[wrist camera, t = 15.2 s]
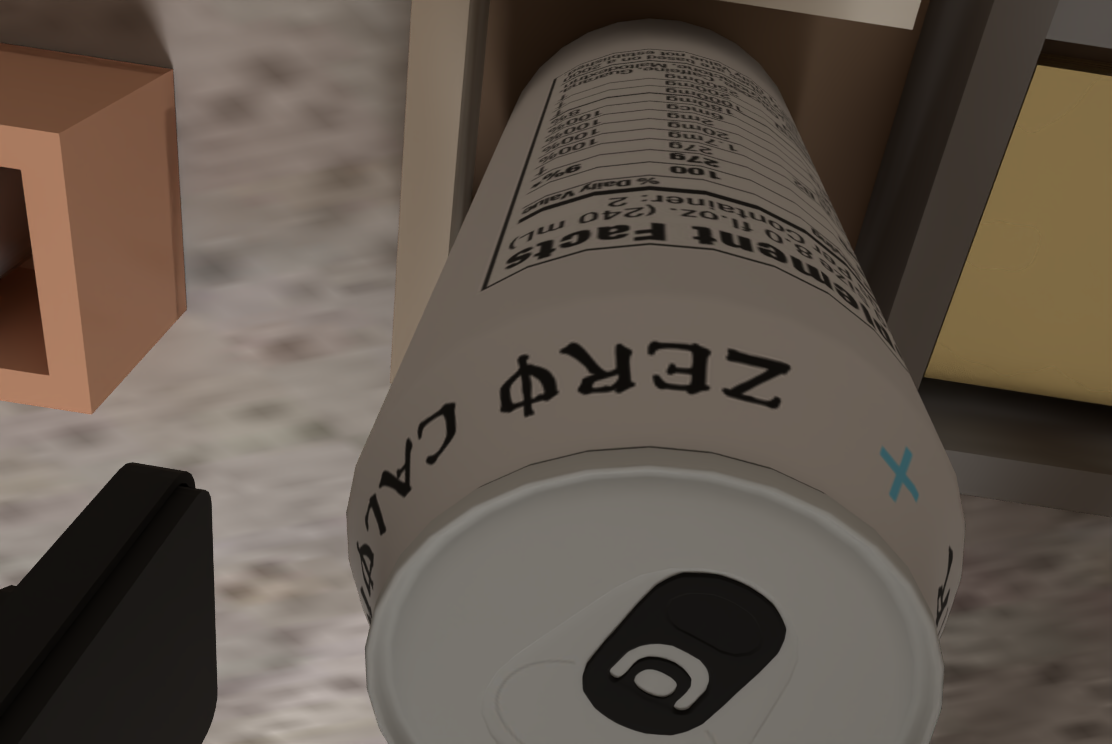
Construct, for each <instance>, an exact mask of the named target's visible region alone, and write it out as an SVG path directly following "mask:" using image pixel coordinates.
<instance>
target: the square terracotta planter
mask: <svg viewBox="0 0 1112 744" xmlns="http://www.w3.org/2000/svg"><path fill="white" fill-rule="evenodd" d="M186 310H187V306H186V289H185V272H184V254H183V237H182V220H181V202H180V185H179V167H178V150H177V133H176V115H175V98H174V81H173V69H168V68H162V67H155V66H149V65H142V64H136V63H129V62H122V61H116V60H109V59H103V58H96V57H90V56H83V55H77V54H70V53H64V52H57V51H51V50H44V49H38V48H31V47H24V46H18V45H11V44H5V43H0V400H1V401H8V402H14V403H21V404H27V405H34V406H40V407H47V408H53V409H60V410H66V411H73V412H79V413H86V414H93V413H94V412H95V410H96V409H97V408H98V407H99V406H100V405H101V404H102V403H103V402H104V400H105V399H106V398H107V397H108V396H109V395H110V394H111V393H112V392H113V391H114V389H115V388H116V387H117V386H118V385H119V384H120V383H121V382H122V381H123V379H124V378H125V377H126V376H127V375H128V374H129V373H130V372H131V371H132V370H133V368H134V367H135V366H136V365H137V364H138V363H139V362H140V361H141V360H142V358H143V357H144V356H145V355H146V354H147V353H148V352H149V351H150V350H151V348H152V347H153V346H154V345H155V344H156V343H157V342H158V341H159V340H160V339H161V337H162V336H163V335H164V334H165V333H166V332H167V331H168V330H169V329H170V327H171V326H172V325H173V324H174V323H175V322H176V321H177V320H178V319H179V318H180V316H181V315H182V314H183V313H184V312H185V311H186Z"/></svg>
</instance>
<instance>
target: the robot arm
mask: <svg viewBox="0 0 1112 744" xmlns="http://www.w3.org/2000/svg"><path fill="white" fill-rule="evenodd" d="M216 702H217V661H216V629H215V597H214V565H213V533H212V503H211V496H210V494H209V492H208V491H206V490H202V489H196V488H195V482H194V479H193V477H192V474H190V473H189V472H187V471H181V470H175V469H169V468H163V467H157V466H151V465H145V464H139V463H133V462H132V463H127V464H125V465H124V466H123V467H122V468H121V469H119V470H118V472H117V473H116V474H115V475H114V476H113V477H112V478H111V480H110V481H109V482H108V483H107V484H106V485H105V486H104V488H103V489H102V490H101V491H100V492H99V493H98V494H97V495H96V497H95V498H94V499H93V500H92V501H91V502H90V503H89V505H88V506H87V507H86V508H85V509H84V510H83V511H82V512H81V514H80V515H79V516H78V517H77V518H76V519H75V520H74V522H73V523H72V524H71V525H70V526H69V527H68V528H67V530H66V531H65V532H64V533H63V534H62V535H61V536H60V537H59V539H58V540H57V541H56V542H55V543H54V544H53V545H52V547H51V548H50V549H49V550H48V551H47V552H46V553H45V554H44V556H43V557H42V558H41V559H40V560H39V561H38V562H37V564H36V565H35V566H34V567H33V568H32V569H31V570H30V572H29V573H28V574H27V575H26V576H25V577H24V578H23V579H22V581H21V582H20V583H19V584H18V585H17V586H13V585H10V586H8V587H5V588H3V589H0V744H202V742H203V740H204V738H205V736H206V735H207V732H208V730H209V728H210V725H211V722H212V719H213V716H214V712H215V708H216Z"/></svg>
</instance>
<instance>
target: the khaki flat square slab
mask: <svg viewBox="0 0 1112 744" xmlns="http://www.w3.org/2000/svg"><path fill="white" fill-rule="evenodd" d="M923 376H924V377H927V378H933V379H940V380H946V381H953V382H959V383H966V384H972V385H979V386H985V387H992V388H999V389H1005V390H1012V391H1018V392H1025V393H1031V394H1038V395H1044V396H1051V397H1057V398H1064V399H1070V400H1077V401H1083V402H1090V403H1096V404H1103V405H1109V406H1112V64H1111V63H1105V62H1098V61H1091V60H1085V59H1078V58H1072V57H1065V56H1059V55H1052V54H1046V53H1040V55H1039V58H1038V61H1037V63H1036V66H1035V69H1034V72H1033V74H1032V77H1031V80H1030V83H1029V85H1028V88H1027V91H1026V94H1025V96H1024V99H1023V102H1022V105H1021V107H1020V110H1019V113H1018V116H1017V118H1016V121H1015V124H1014V127H1013V129H1012V132H1011V135H1010V138H1009V140H1008V143H1007V146H1006V149H1005V151H1004V154H1003V157H1002V160H1001V162H1000V165H999V168H998V171H997V173H996V176H995V179H994V182H993V184H992V187H991V190H990V193H989V195H988V198H987V201H986V204H985V206H984V209H983V212H982V215H981V217H980V220H979V223H978V226H977V228H976V231H975V234H974V237H973V239H972V242H971V245H970V248H969V250H968V253H967V256H966V259H965V262H964V264H963V267H962V270H961V273H960V275H959V278H958V281H957V284H956V286H955V289H954V292H953V295H952V297H951V300H950V303H949V306H948V308H947V311H946V314H945V317H944V319H943V322H942V325H941V328H940V330H939V333H938V336H937V339H936V341H935V344H934V347H933V350H932V352H931V355H930V358H929V361H928V363H927V366H926V369H925V372H924V374H923Z"/></svg>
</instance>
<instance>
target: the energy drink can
mask: <svg viewBox="0 0 1112 744" xmlns="http://www.w3.org/2000/svg"><path fill="white" fill-rule="evenodd" d="M346 516H347V535H348V554H349V562H350V567H351V570H352V573H353V577H354V580H355V584H356V587H357V590H358V594H359V597H360V601H361V604H362V607H363V611H364V613H365V616H366V618H367V621H368V623H369V626H370V629H369V633H368V637H367V642H366V646H365V659H366V681H367V691H368V694H369V697H370V700H371V704H372V707H373V710H374V713H375V716H376V720H377V723H378V726H379V729H380V731H381V732H382V734H383V736H384V737H385V739H386V741H387V743H388V744H929V743H930V740H931V737H932V734H933V731H934V729H935V726H936V723H937V720H938V717H939V715H940V712H941V709H942V697H943V682H944V668H945V666H944V661H943V657H942V652H941V648H940V643H939V639H940V637H941V634H942V632H943V630H944V628H945V625H946V622H947V619H948V616H949V613H950V610H951V607H952V604H953V601H954V598H955V595H956V592H957V589H958V586H959V583H960V579H961V576H962V566H963V553H964V540H965V527H966V524H965V519H964V514H963V508H962V503H961V498H960V493H959V487H958V482H957V477H956V473H955V471H954V469H953V467H952V465H951V463H950V460H949V458H948V456H947V454H946V452H945V450H944V447H943V445H942V443H941V441H940V439H939V436H938V434H937V432H936V430H935V428H934V426H933V423H932V421H931V419H930V417H929V415H928V413H927V410H926V408H925V406H924V404H923V402H922V399H921V397H920V395H919V393H918V391H917V389H916V386H915V384H914V382H913V380H912V378H911V376H910V373H909V371H908V369H907V367H906V365H905V362H904V360H903V358H902V356H901V354H900V352H899V349H898V347H897V345H896V343H895V341H894V339H893V336H892V334H891V332H890V330H889V328H888V325H887V323H886V321H885V319H884V317H883V315H882V312H881V310H880V308H879V306H878V304H877V302H876V299H875V297H874V295H873V293H872V291H871V288H870V286H869V284H868V282H867V280H866V278H865V275H864V273H863V271H862V269H861V267H860V265H859V262H858V260H857V258H856V256H855V254H854V251H853V249H852V247H851V245H850V243H849V241H848V238H847V236H846V234H845V232H844V230H843V228H842V225H841V223H840V221H839V219H838V217H837V214H836V212H835V210H834V208H833V206H832V204H831V201H830V199H829V197H828V195H827V193H826V191H825V188H824V186H823V184H822V182H821V180H820V177H819V175H818V173H817V171H816V169H815V167H814V164H813V162H812V160H811V158H810V156H809V154H808V151H807V149H806V147H805V145H804V143H803V140H802V138H801V136H800V134H799V132H798V130H797V127H796V125H795V123H794V121H793V119H792V117H791V114H790V112H789V110H788V108H787V106H786V104H785V102H784V99H783V97H782V95H781V93H780V91H779V89H778V87H777V86H776V84H775V83H774V82H773V80H772V79H771V78H770V76H769V75H768V74H767V73H766V71H765V70H764V69H763V67H762V66H761V65H760V64H759V63H758V62H757V61H756V60H755V59H754V58H752V57H751V56H750V55H749V54H748V53H747V52H745V51H744V50H743V49H742V48H741V47H740V46H738V45H737V44H736V43H734V42H732V41H730V40H728V39H726V38H724V37H723V36H721V35H719V34H717V33H715V32H713V31H711V30H709V29H706V28H703V27H699V26H696V25H692V24H689V23H686V22H682V21H676V20H663V19H650V18H648V19H640V20H632V21H624V22H617V23H614V24H611V25H609V26H606V27H603V28H600V29H597V30H594V31H591V32H588V33H587V34H585V35H583V36H581V37H580V38H578V39H576V40H575V41H573V42H571V43H569V44H568V45H566V46H564V47H562V48H561V49H560V50H559V51H558V52H557V53H556V54H555V55H553V56H552V57H551V58H550V59H549V60H548V61H547V62H546V63H544V64H543V65H542V66H541V67H540V68H539V69H538V71H537V72H536V73H535V75H534V76H533V77H532V79H531V80H530V81H529V83H528V84H527V85H526V87H525V88H524V89H523V91H522V92H521V94H520V97H519V99H518V101H517V103H516V105H515V107H514V109H513V112H512V114H511V116H510V118H509V120H508V122H507V125H506V127H505V129H504V131H503V134H502V136H501V138H500V141H499V143H498V145H497V147H496V150H495V152H494V154H493V156H492V159H491V161H490V163H489V165H488V168H487V170H486V172H485V174H484V177H483V179H482V181H481V184H480V186H479V188H478V190H477V193H476V195H475V197H474V199H473V202H472V204H471V206H470V208H469V211H468V213H467V215H466V217H465V220H464V222H463V224H462V227H461V229H460V231H459V233H458V236H457V238H456V240H455V242H454V245H453V247H452V249H451V251H450V254H449V256H448V258H447V260H446V263H445V265H444V267H443V270H442V272H441V274H440V276H439V279H438V281H437V283H436V285H435V288H434V290H433V292H432V294H431V297H430V299H429V301H428V303H427V306H426V308H425V310H424V313H423V315H422V317H421V319H420V322H419V324H418V326H417V328H416V331H415V333H414V335H413V337H412V340H411V342H410V344H409V346H408V349H407V351H406V353H405V355H404V358H403V360H402V362H401V365H400V367H399V369H398V371H397V374H396V376H395V378H394V380H393V383H392V385H391V387H390V389H389V392H388V394H387V396H386V398H385V401H384V403H383V405H382V408H381V410H380V412H379V414H378V417H377V419H376V421H375V423H374V426H373V428H372V430H371V432H370V435H369V437H368V439H367V441H366V444H365V446H364V448H363V451H362V453H361V455H360V457H359V460H358V462H357V464H356V467H355V472H354V477H353V482H352V487H351V492H350V497H349V502H348V507H347V512H346Z"/></svg>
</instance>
